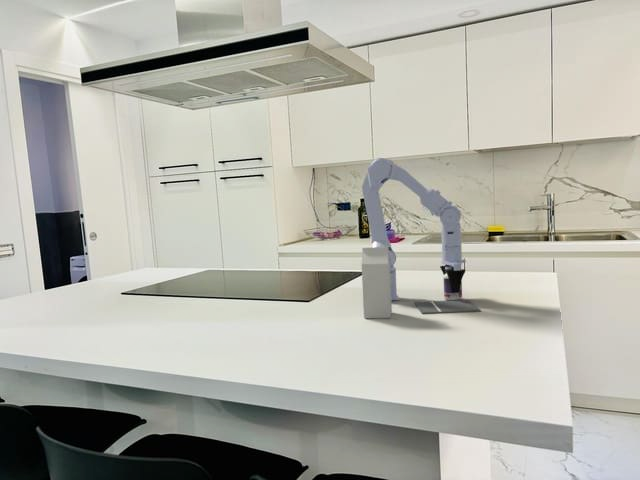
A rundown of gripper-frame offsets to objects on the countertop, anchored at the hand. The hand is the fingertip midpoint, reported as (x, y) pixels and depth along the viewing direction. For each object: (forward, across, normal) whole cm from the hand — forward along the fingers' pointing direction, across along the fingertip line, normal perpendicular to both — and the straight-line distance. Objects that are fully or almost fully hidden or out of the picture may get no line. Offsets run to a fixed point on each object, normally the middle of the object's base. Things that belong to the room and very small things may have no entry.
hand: (452, 290), depth 151 cm
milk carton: (+3, -15, +24) cm, 28 cm away
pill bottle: (+3, 0, 0) cm, 3 cm away
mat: (+3, -9, +4) cm, 10 cm away
